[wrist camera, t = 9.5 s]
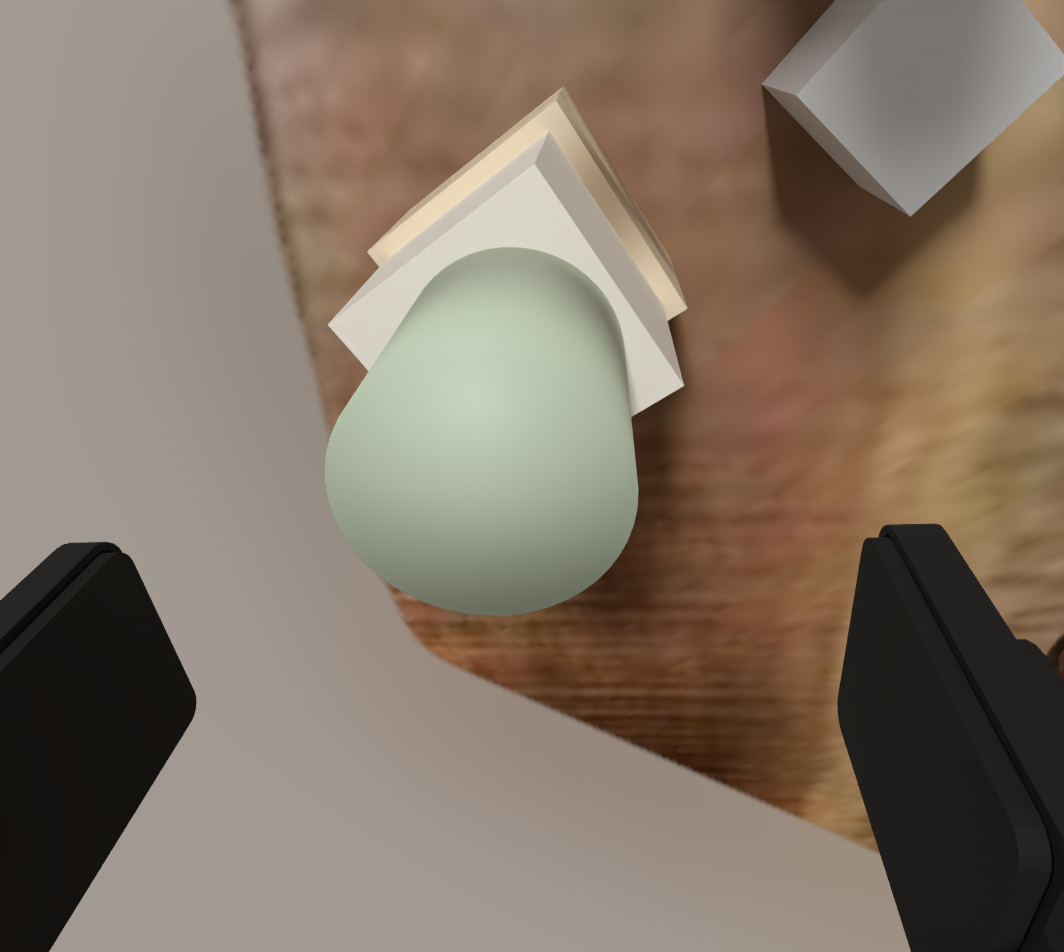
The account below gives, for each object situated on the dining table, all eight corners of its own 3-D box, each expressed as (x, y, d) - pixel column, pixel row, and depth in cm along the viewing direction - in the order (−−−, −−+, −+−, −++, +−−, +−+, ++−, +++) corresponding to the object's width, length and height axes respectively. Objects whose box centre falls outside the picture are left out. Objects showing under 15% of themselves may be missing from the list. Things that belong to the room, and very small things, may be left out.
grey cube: (986, 59, 24) (1073, 66, 19) (858, 185, 26) (910, 216, 22) (887, -61, 22) (957, -83, 18) (760, 84, 24) (796, 95, 20)
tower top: (663, 304, 22) (684, 385, 17) (507, 404, 25) (485, 503, 19) (549, 129, 20) (534, 163, 15) (388, 257, 22) (327, 324, 17)
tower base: (669, 256, 28) (687, 308, 22) (520, 355, 30) (505, 422, 25) (563, 86, 25) (556, 100, 20) (409, 210, 27) (366, 251, 22)
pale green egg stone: (666, 387, 17) (697, 535, 12) (492, 488, 19) (455, 654, 14) (540, 196, 15) (514, 280, 10) (359, 330, 17) (260, 457, 12)
